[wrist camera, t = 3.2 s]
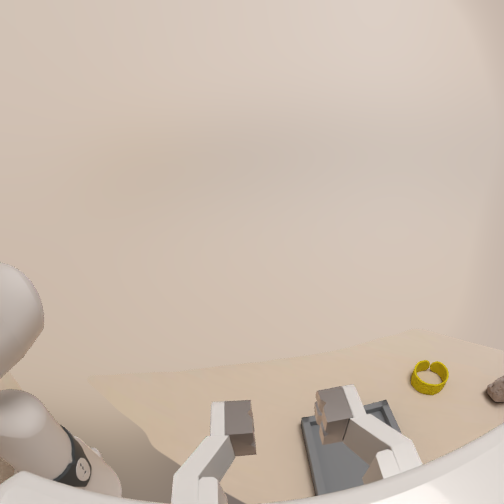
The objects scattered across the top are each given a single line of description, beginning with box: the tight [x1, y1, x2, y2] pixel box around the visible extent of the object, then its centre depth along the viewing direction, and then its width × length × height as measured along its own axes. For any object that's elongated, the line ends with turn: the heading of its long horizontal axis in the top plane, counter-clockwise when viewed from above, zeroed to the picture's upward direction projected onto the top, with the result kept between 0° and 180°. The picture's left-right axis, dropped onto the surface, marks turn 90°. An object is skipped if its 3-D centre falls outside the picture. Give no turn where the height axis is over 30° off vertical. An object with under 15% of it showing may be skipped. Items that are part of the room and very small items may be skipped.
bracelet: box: [411, 360, 449, 395], centre depth 49 cm, size 7×8×3 cm
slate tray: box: [301, 400, 402, 496], centre depth 36 cm, size 16×22×2 cm
